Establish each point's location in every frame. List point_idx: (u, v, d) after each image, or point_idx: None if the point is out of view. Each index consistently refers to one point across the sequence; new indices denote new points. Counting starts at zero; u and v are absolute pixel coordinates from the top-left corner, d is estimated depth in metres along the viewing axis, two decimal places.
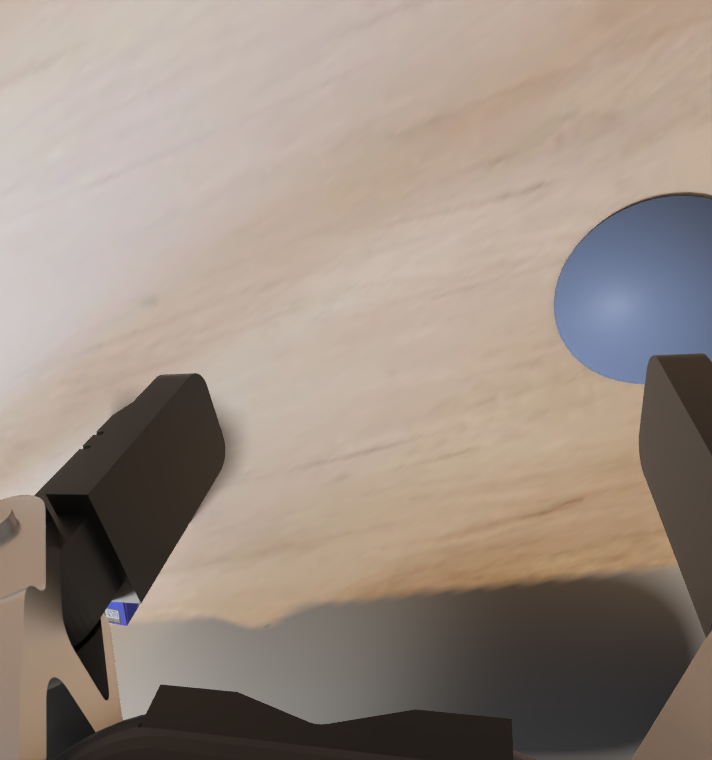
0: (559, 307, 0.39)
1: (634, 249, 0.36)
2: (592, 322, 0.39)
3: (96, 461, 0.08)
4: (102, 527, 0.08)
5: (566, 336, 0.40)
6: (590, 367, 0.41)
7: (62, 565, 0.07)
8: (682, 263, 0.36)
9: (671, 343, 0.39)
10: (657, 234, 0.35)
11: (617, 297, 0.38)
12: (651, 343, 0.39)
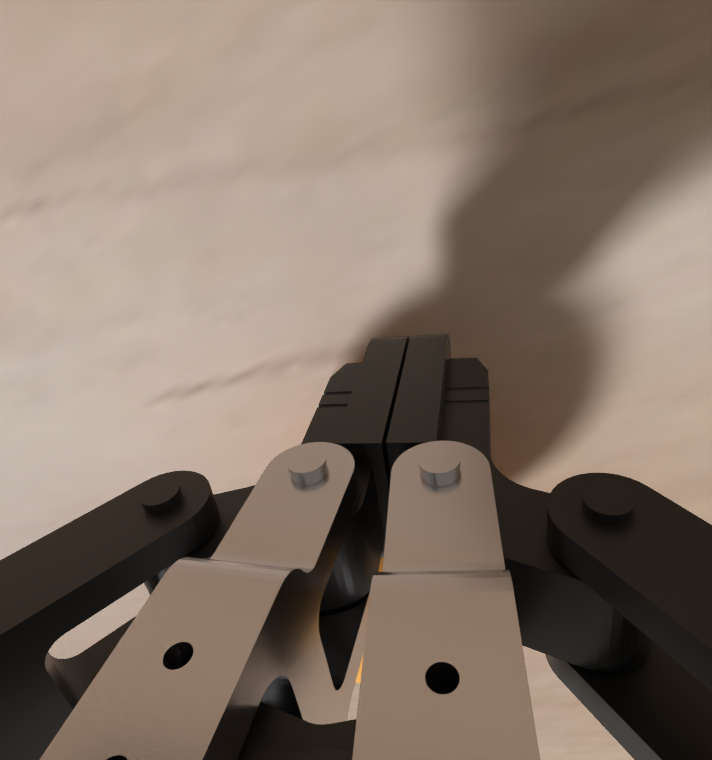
0: None
1: None
2: None
3: (366, 414, 0.08)
4: (383, 478, 0.08)
5: None
6: None
7: (365, 511, 0.08)
8: None
9: None
10: None
11: None
12: None
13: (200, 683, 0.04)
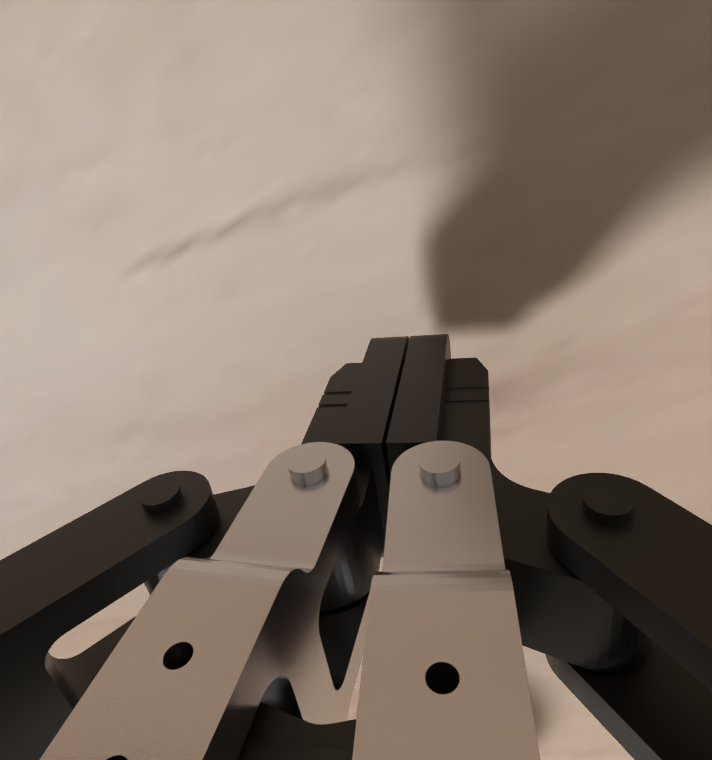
0: None
1: None
2: None
3: (365, 414, 0.08)
4: (383, 477, 0.08)
5: None
6: None
7: (365, 511, 0.08)
8: None
9: None
10: None
11: None
12: None
13: (200, 683, 0.04)
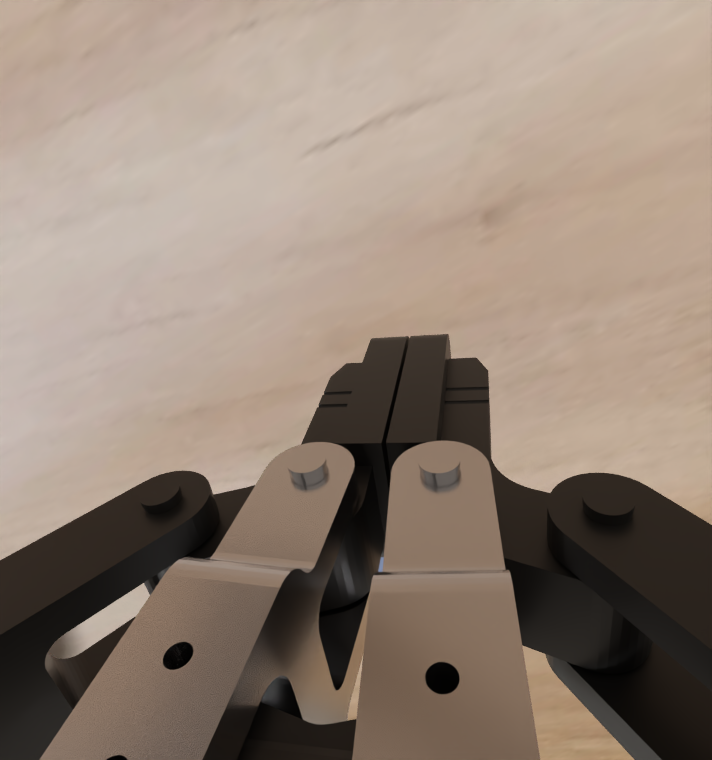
0: None
1: None
2: None
3: (365, 414, 0.08)
4: (382, 477, 0.08)
5: None
6: None
7: (365, 511, 0.08)
8: None
9: None
10: None
11: None
12: None
13: (200, 683, 0.04)
